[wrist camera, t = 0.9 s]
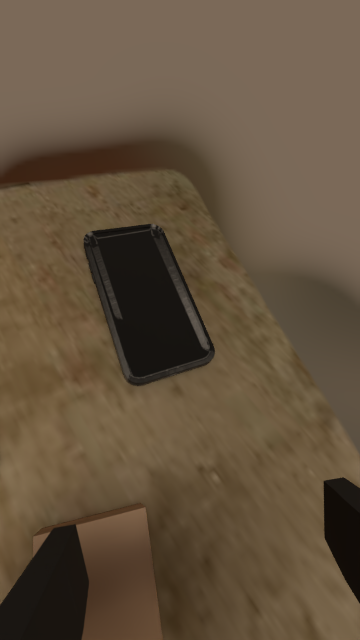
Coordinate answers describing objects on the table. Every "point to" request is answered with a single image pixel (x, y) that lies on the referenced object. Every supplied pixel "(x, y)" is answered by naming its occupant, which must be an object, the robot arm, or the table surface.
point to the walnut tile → (117, 575)
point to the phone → (146, 303)
